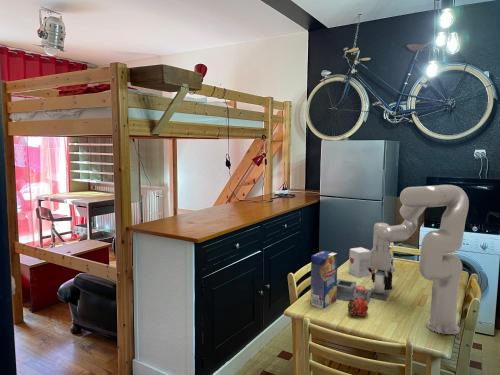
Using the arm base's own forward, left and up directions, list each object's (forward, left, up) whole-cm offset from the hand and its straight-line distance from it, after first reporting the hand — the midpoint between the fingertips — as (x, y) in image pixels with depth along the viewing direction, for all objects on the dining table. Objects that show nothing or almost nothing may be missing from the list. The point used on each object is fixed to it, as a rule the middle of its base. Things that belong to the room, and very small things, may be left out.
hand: (379, 282), depth 190 cm
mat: (0, 0, -7) cm, 7 cm away
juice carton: (-22, +23, -7) cm, 32 cm away
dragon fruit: (-27, +5, -7) cm, 28 cm away
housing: (-8, +12, -7) cm, 16 cm away
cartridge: (0, 0, -5) cm, 5 cm away
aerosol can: (+12, -1, -7) cm, 14 cm away
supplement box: (+27, +15, -7) cm, 32 cm away
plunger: (-12, +7, -4) cm, 15 cm away
